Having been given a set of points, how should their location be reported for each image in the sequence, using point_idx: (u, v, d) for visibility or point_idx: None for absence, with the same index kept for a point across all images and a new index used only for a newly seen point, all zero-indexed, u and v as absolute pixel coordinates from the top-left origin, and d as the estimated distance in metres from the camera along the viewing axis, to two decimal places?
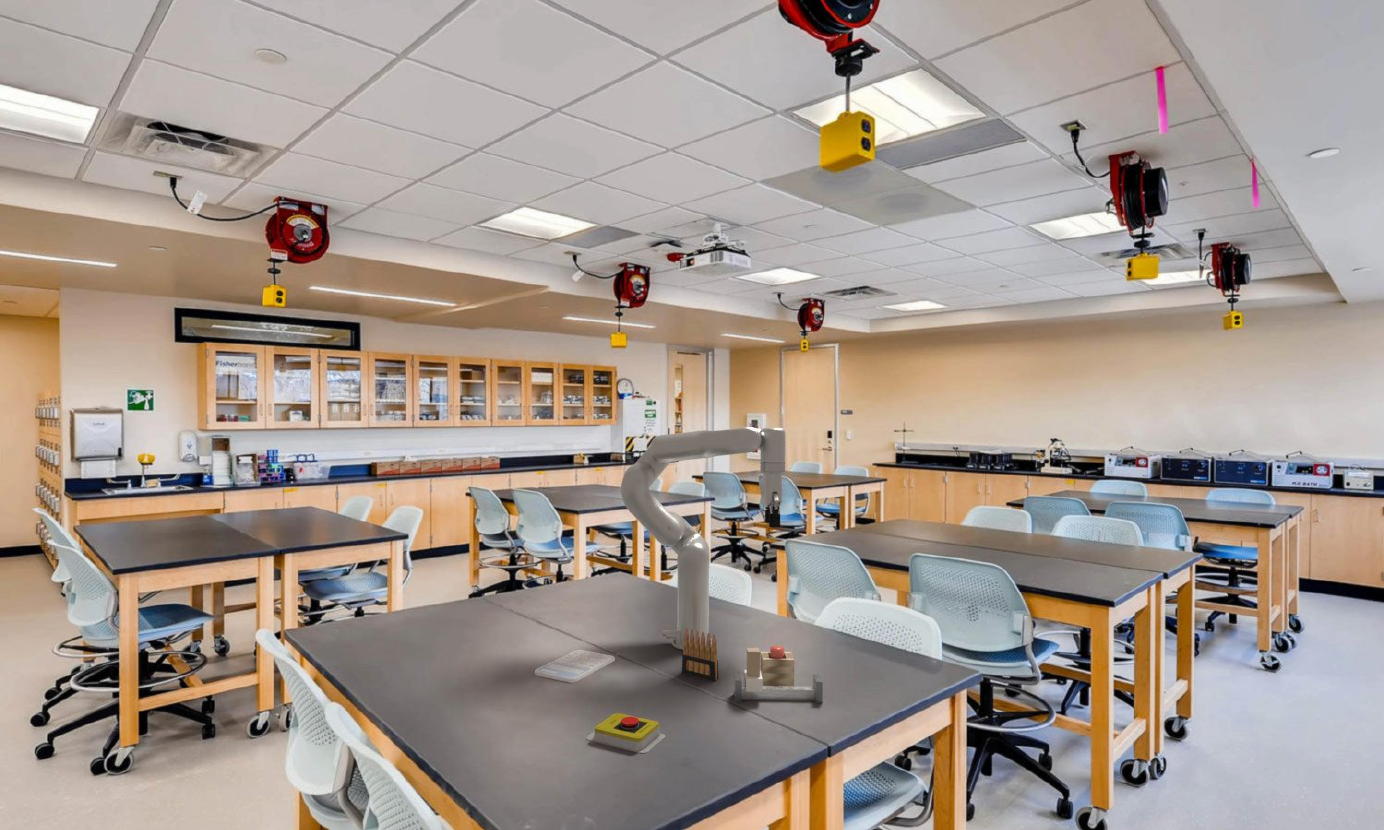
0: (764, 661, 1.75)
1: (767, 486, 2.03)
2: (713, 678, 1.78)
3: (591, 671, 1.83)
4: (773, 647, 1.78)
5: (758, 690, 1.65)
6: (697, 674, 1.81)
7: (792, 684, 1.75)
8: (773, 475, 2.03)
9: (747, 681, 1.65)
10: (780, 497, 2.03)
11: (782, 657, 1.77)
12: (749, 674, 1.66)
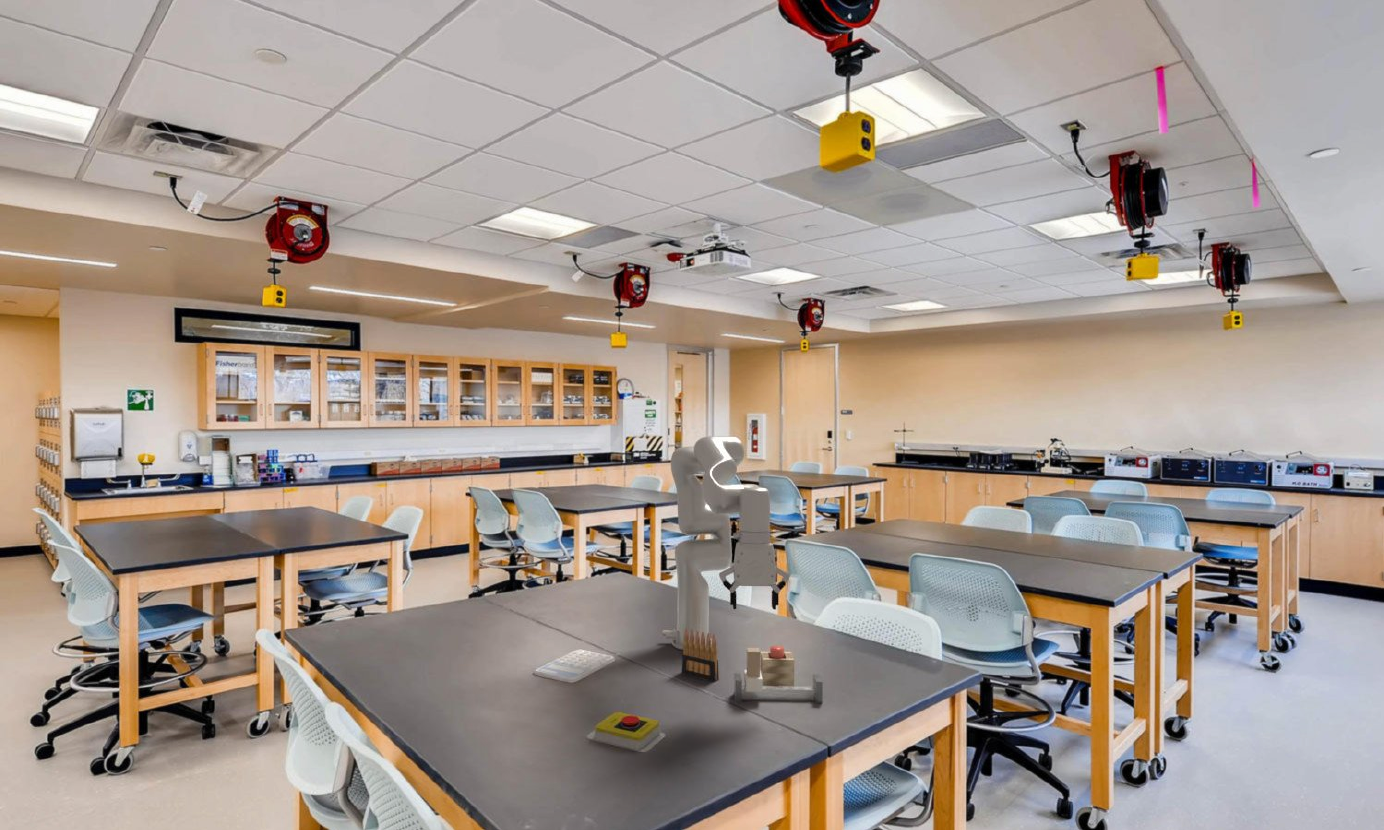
0: (764, 661, 1.75)
1: (774, 560, 1.66)
2: (713, 678, 1.78)
3: (591, 671, 1.83)
4: (773, 647, 1.78)
5: (758, 690, 1.65)
6: (697, 674, 1.81)
7: (792, 684, 1.75)
8: None
9: (747, 681, 1.65)
10: None
11: (782, 657, 1.77)
12: (749, 674, 1.66)
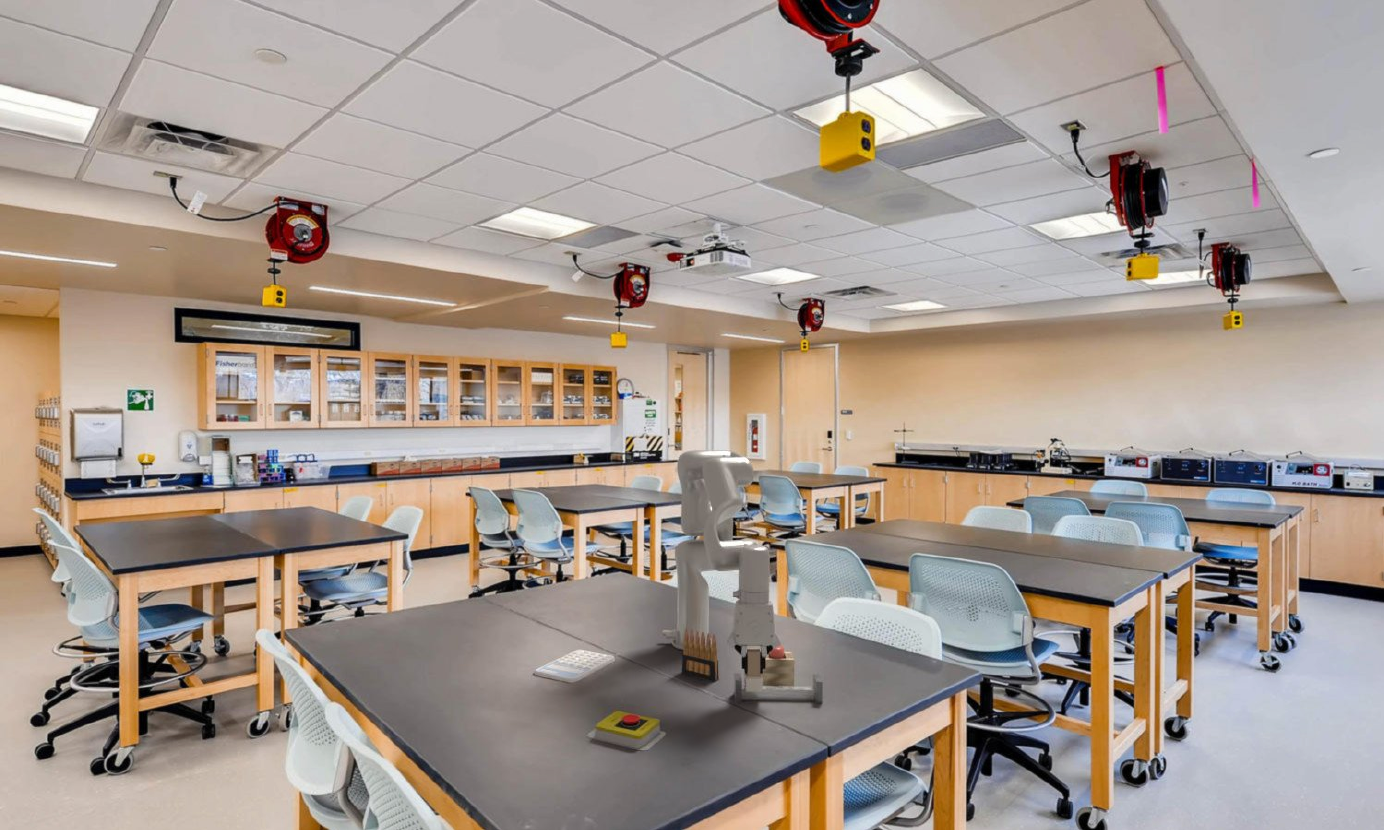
0: None
1: (773, 620, 1.66)
2: (713, 678, 1.78)
3: (591, 671, 1.83)
4: None
5: (758, 690, 1.65)
6: (697, 674, 1.81)
7: (792, 684, 1.75)
8: (772, 604, 1.68)
9: (747, 681, 1.65)
10: None
11: (782, 657, 1.77)
12: (749, 674, 1.66)
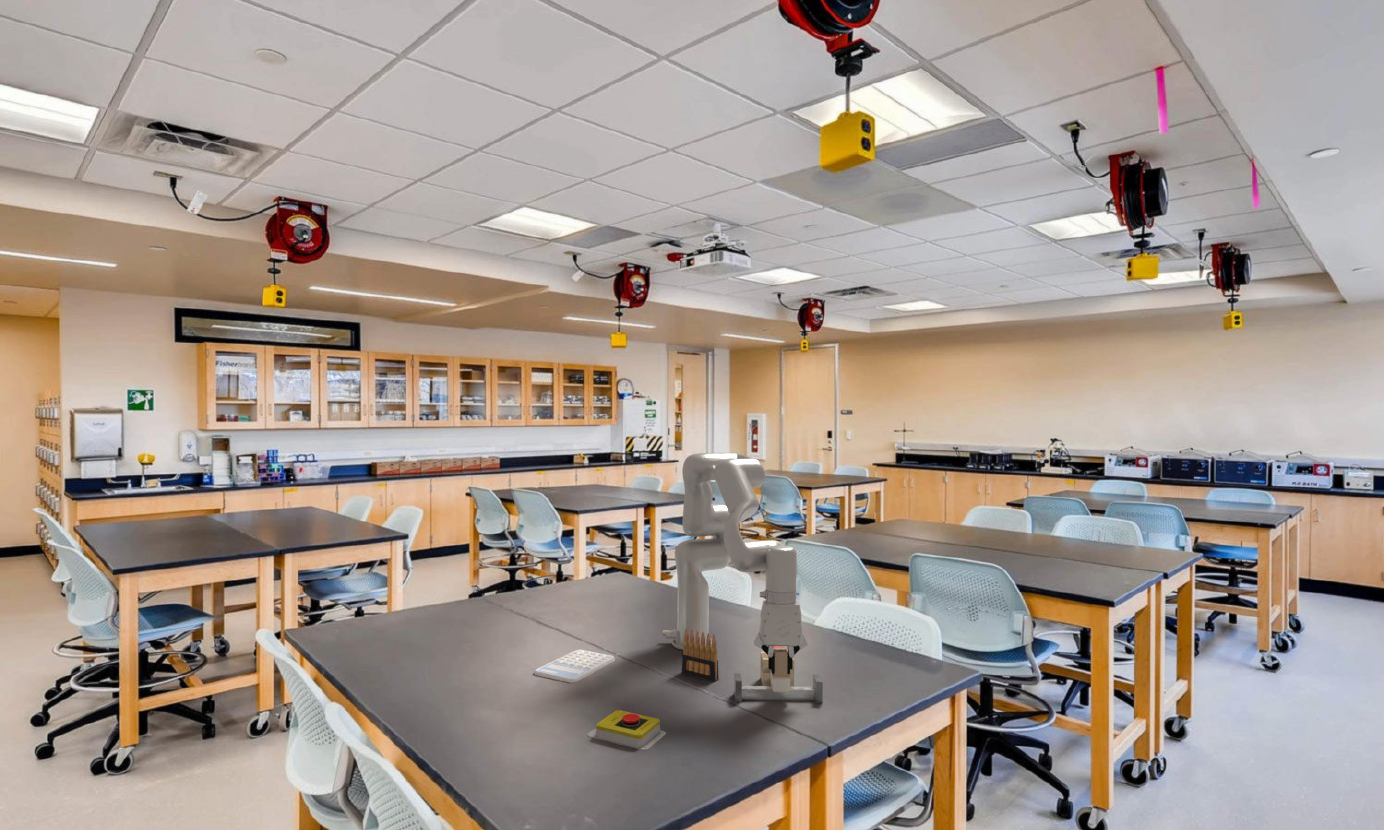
0: (764, 661, 1.75)
1: (801, 620, 1.66)
2: (713, 678, 1.78)
3: (591, 671, 1.83)
4: None
5: (785, 690, 1.65)
6: (697, 674, 1.81)
7: (792, 684, 1.75)
8: None
9: (774, 681, 1.65)
10: None
11: None
12: (776, 674, 1.66)
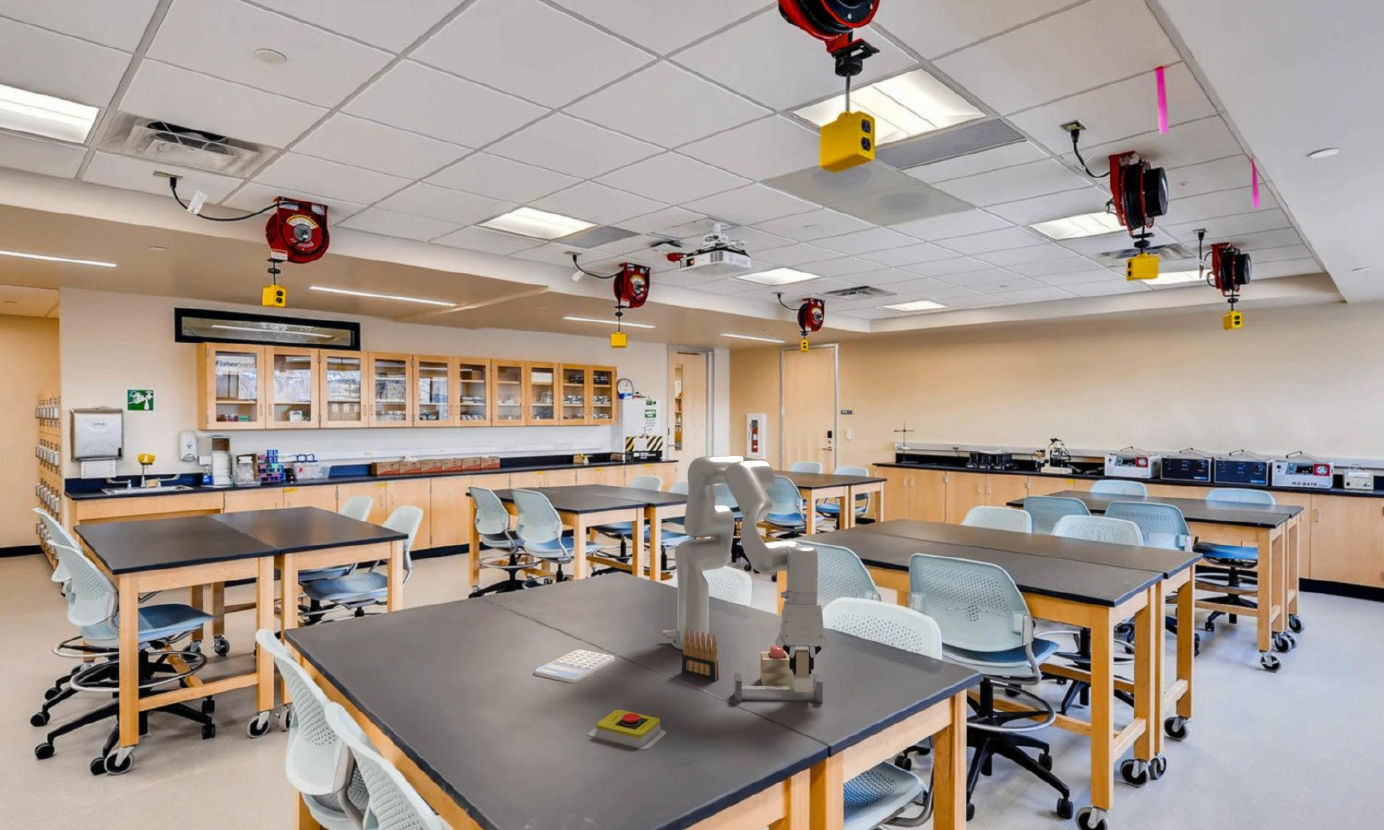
0: (764, 661, 1.75)
1: (822, 620, 1.66)
2: (713, 678, 1.78)
3: (591, 671, 1.83)
4: (773, 647, 1.78)
5: (807, 691, 1.65)
6: (697, 674, 1.81)
7: None
8: None
9: (796, 682, 1.65)
10: None
11: (782, 657, 1.77)
12: (798, 675, 1.66)
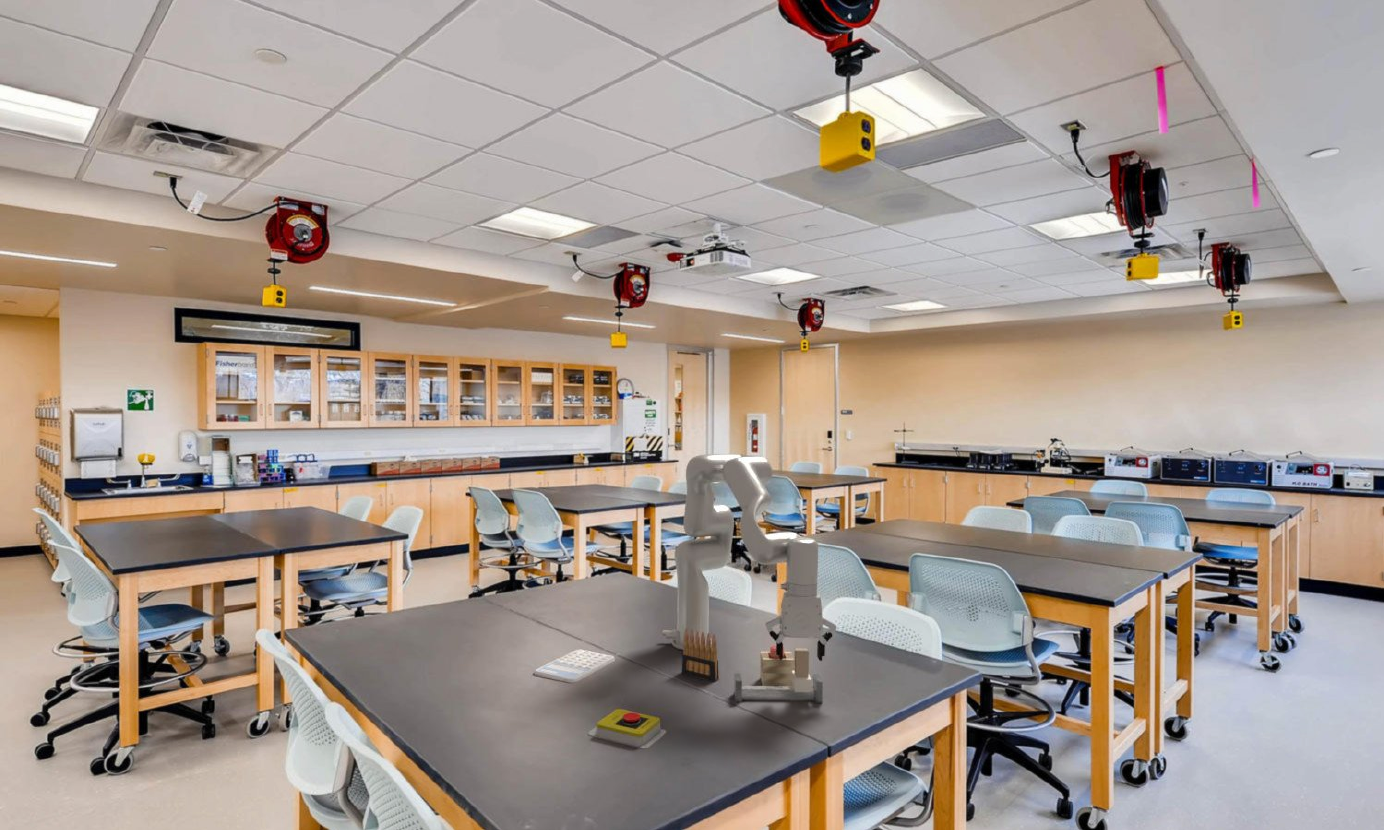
0: (764, 661, 1.75)
1: (821, 612, 1.66)
2: (713, 678, 1.78)
3: (591, 671, 1.83)
4: (773, 647, 1.78)
5: (807, 691, 1.65)
6: (697, 674, 1.81)
7: None
8: None
9: (796, 682, 1.65)
10: None
11: None
12: (798, 675, 1.66)
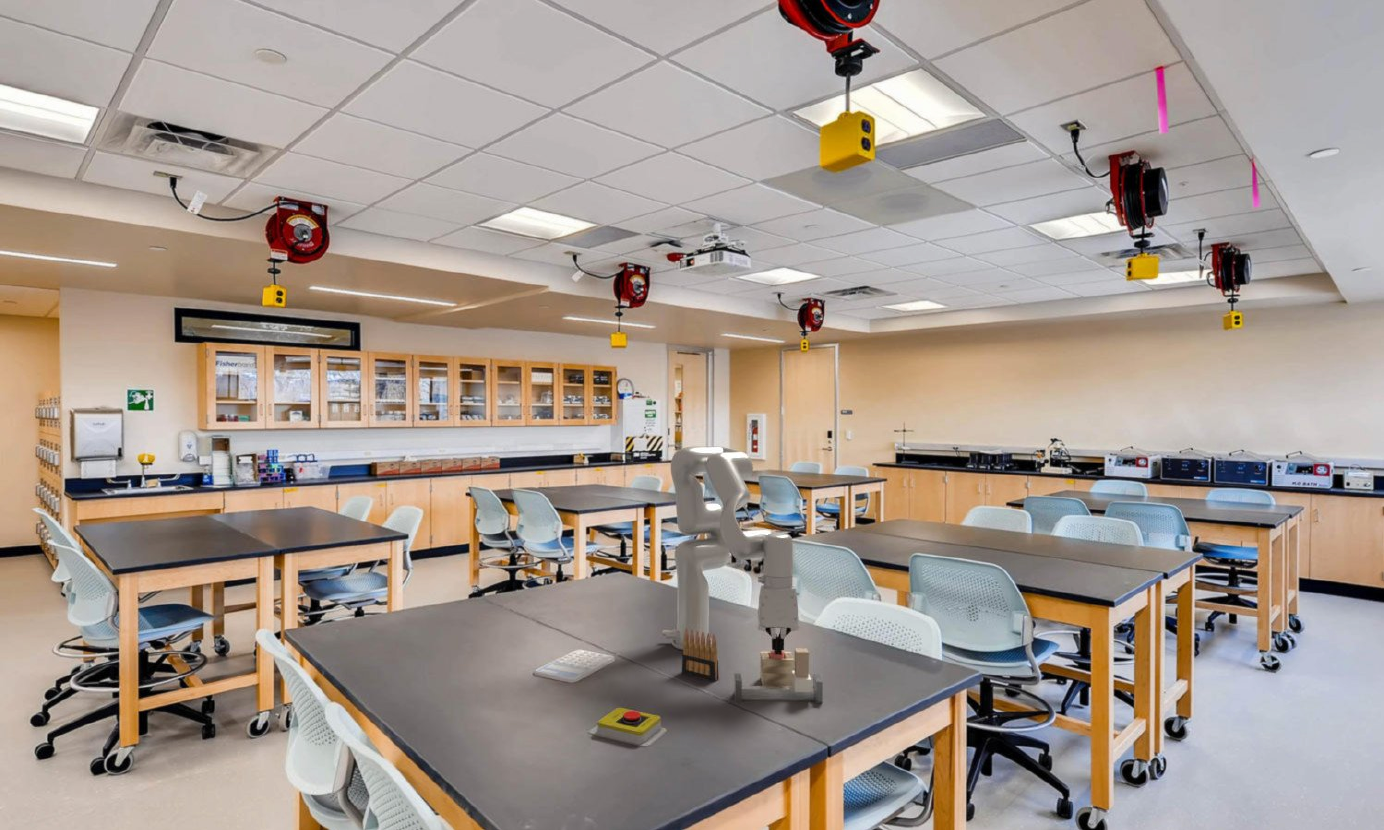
0: (764, 661, 1.75)
1: (797, 603, 1.76)
2: (713, 678, 1.78)
3: (591, 671, 1.83)
4: (773, 652, 1.78)
5: (807, 691, 1.65)
6: (697, 674, 1.81)
7: None
8: None
9: (796, 682, 1.65)
10: None
11: None
12: (798, 675, 1.66)
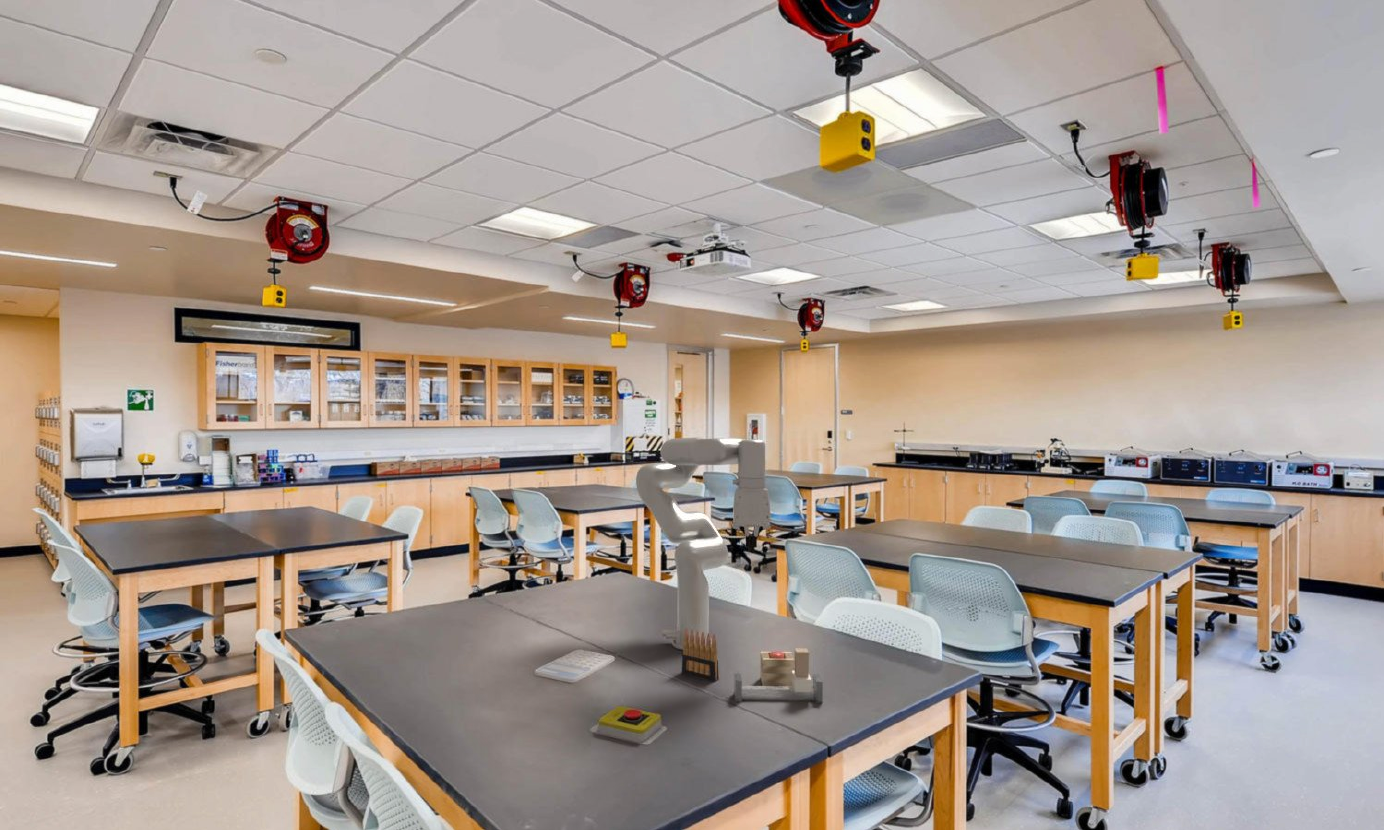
0: (764, 661, 1.75)
1: (769, 503, 1.88)
2: (713, 678, 1.78)
3: (591, 671, 1.83)
4: (773, 653, 1.78)
5: (807, 691, 1.65)
6: (697, 674, 1.81)
7: None
8: None
9: (796, 682, 1.65)
10: None
11: None
12: (798, 675, 1.66)
